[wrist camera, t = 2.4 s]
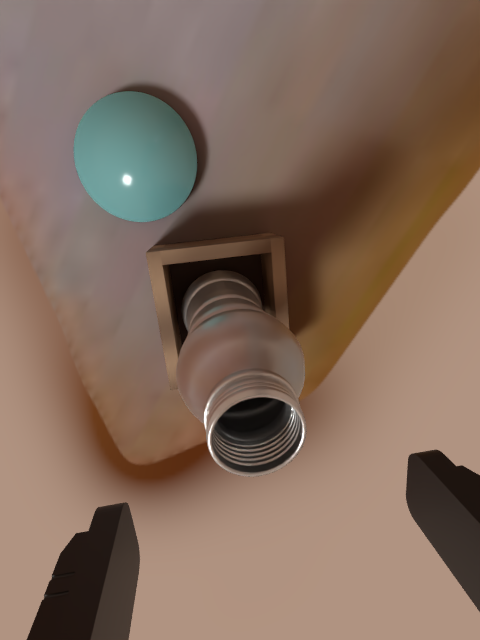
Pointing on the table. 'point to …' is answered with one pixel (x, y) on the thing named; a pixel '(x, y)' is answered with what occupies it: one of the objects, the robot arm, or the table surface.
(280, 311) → the walnut holder
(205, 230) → the table surface
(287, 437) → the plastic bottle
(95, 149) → the teal coaster
